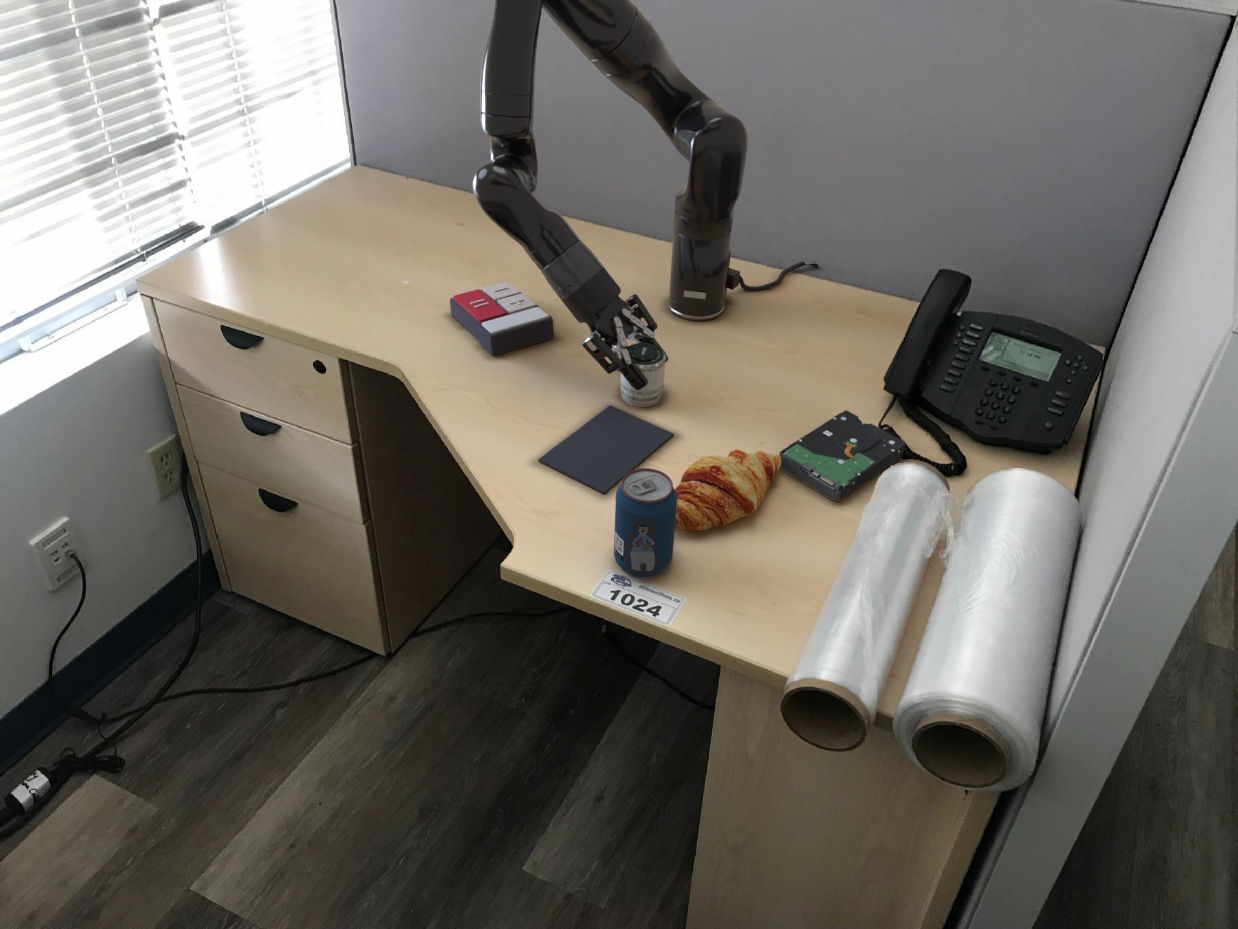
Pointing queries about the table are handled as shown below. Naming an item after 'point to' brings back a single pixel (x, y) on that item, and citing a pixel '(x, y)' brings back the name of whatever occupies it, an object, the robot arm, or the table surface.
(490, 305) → the calculator
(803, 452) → the disk drive
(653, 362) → the camera lens
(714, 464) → the croissant
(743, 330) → the table surface
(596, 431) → the felt mat
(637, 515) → the soda can
